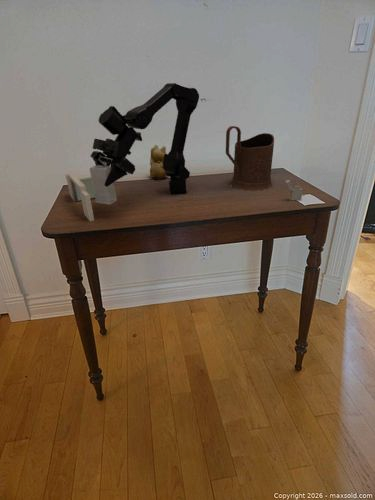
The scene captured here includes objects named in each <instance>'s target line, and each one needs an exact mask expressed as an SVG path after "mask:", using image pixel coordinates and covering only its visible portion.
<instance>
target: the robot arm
mask: <svg viewBox="0 0 375 500" xmlns="http://www.w3.org/2000/svg"><path fill="white" fill-rule="evenodd" d="M172 99H173V100H175V106H176V110H177V115H176V121H175V126H174V132H173V135H172V140H171V141H172V142H171V147H170V150H169V152H168V153H166V154H165V155H164V161H163V163H162V164H163V169H164V171H165V172H166V175H167V176H166V177H169V179H168V185H169V187H168V188H169V189H168V190H169V192H170V195H180V194H181V195H182V194H187V193H188V192H187V179H189V178H190V175H191V172H190V171H189V170H188V169H187V167H186V159H185V156H184V150H185V146H186V145H185V144H186V140H187V134H188V130H189V126H190V121H191V116H192V114H193V112H195V110H196V109H197V107H198V103H199V99H200V93H199V91H198V89H196V88H195V87H186V86H182V85H180V84H177V83H175V82H172V83H170V82H169V83H166V84H164V85H163V87H162V88H161V89H160V90H158V92H156V93H155V94H154V95H153V96H152V97H150V98H149V99H148V100H147V101H146V102H145V103H143V104H141V105H139V106H135V107H134V108H131V109H130V110H128V111H127V112H126V114H123V115H122V113H121V112H119V110H118V109H117V108H116V107H115V106H114V105H110V106H109V107H108V108H107V109H105V110H104V111H103V112H102V113H100V115H99V117H98V123H99V124H100V125H101V126H102V127H103V128H104V129H106V131H108V132H109V134H111V135H112V136H116V135H117V136H116V137H115V139H114V140H113V139H111V138H106V139H105V140H104V139H99V138H94V140H93V144H92V149H93V150H94V151H92V152H91V154H90V158H91V159H92V160H93V162H94V164H95V165H94V166H97V165H102V166H111V171H110V173H109V175H108V177H107V179H106V182H105V184H104V185H105V186H106V187H108V186H109V185H111V184H112V183H114V184H115V182H117V181H118V180H120V179H121V178H123V177H125V176H128V174H130V175H133V174H134V173H135V172H136V165H135V164H133V163H132V162H131V161H130V160H129V159H128V158H127V156H130V155H131V154H132V152H131V149H132V147H133V145H134V143H135V142H136V141H139V142H142V141H143V138H142V133H141V132H139V131H137V130H145V129H146V128H148V126H149V125H150V124H151V123H152V121H153V118H154V116H155V114H157V112H159V111H160V110H161V109H162V108H163V107H164V106H166V104H167V103H169V102H170V101H171V100H172ZM135 129H136V130H135Z"/></svg>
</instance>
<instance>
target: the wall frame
mask: <svg viewBox="0 0 375 500" xmlns="http://www.w3.org/2000/svg"><path fill="white" fill-rule="evenodd" d="M65 178H66V179H65V180H66V181H67V182H66V183H67V187H68V192H69V196H70V198H71V199H72V201H73V202H76V201H75V198H74V193H73V188H72V184H71V180H72V181H73V183H74V184H75V185H76V186H77V187H78V188H79V190H80V195H81V200H80V201H81V203H82V210H83V215H84V216H85V217H86V218H87V220H88V221H89V222H93V221H95V216H94V211H93V207H92V202H91V201H92V200H91V198H90V195H89V194H88V193H87V192H86V187H85V185H84V184H83V183H82V182H81V181H80V180H79V179H80V178H78V177H77V176H76V175H75V174H74V173H73V172H67V173H65Z"/></svg>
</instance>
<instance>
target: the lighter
mask: <svg viewBox="0 0 375 500" xmlns="http://www.w3.org/2000/svg"><path fill="white" fill-rule="evenodd" d="M284 184H285V187H286V189H287V191H288V192H289V193H290V194H289V199H290V201H292V200H296V201H300V200H299V199H301V200H302V199H303V198H302V197H303V191H304V189H303V188H302V187H301V185H294V186H292V183H291V180H290V179H289V178H288V179H286V180H285V181H284ZM292 202H293V201H292Z"/></svg>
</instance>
